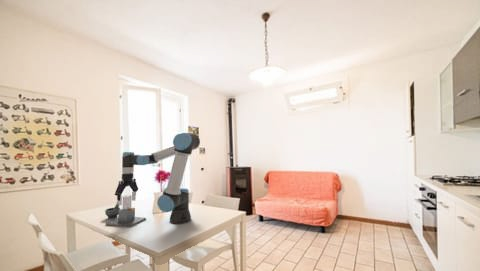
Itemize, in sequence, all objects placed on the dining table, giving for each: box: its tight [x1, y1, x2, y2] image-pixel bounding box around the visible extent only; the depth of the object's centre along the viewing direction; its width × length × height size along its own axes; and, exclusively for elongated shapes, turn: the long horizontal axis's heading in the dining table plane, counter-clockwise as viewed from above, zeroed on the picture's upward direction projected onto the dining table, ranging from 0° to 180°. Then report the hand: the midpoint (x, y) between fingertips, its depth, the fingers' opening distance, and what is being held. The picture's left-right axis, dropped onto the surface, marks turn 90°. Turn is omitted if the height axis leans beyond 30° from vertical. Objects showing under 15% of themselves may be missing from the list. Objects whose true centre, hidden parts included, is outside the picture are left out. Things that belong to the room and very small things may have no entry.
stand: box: [105, 207, 147, 228], centre depth 152 cm, size 20×16×10 cm
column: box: [121, 194, 132, 210], centre depth 153 cm, size 5×4×17 cm
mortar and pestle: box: [104, 201, 121, 221], centre depth 163 cm, size 11×9×12 cm
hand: (126, 202), depth 153 cm, fingers open, 13 cm apart
